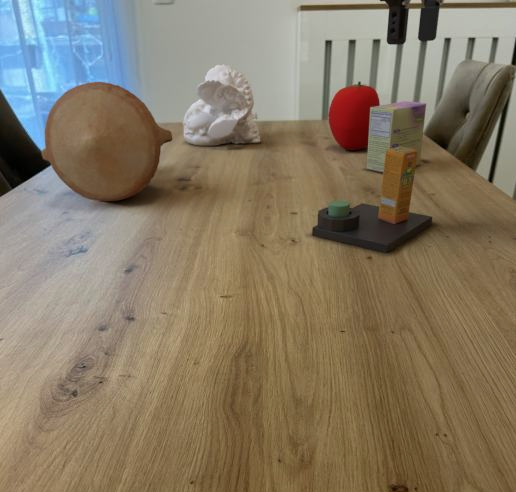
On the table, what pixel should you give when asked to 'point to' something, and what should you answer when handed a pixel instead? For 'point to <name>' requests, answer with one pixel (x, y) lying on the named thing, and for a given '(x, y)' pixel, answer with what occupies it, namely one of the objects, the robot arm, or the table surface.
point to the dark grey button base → (369, 228)
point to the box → (394, 130)
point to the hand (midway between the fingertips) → (411, 42)
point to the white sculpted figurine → (222, 110)
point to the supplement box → (397, 184)
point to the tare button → (339, 208)
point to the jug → (103, 141)
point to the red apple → (352, 115)
